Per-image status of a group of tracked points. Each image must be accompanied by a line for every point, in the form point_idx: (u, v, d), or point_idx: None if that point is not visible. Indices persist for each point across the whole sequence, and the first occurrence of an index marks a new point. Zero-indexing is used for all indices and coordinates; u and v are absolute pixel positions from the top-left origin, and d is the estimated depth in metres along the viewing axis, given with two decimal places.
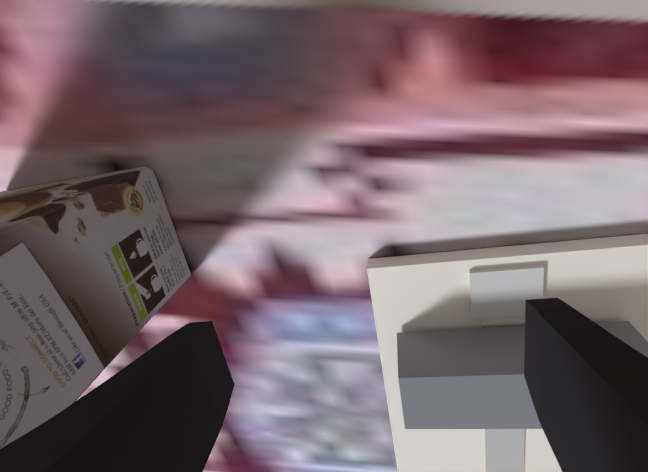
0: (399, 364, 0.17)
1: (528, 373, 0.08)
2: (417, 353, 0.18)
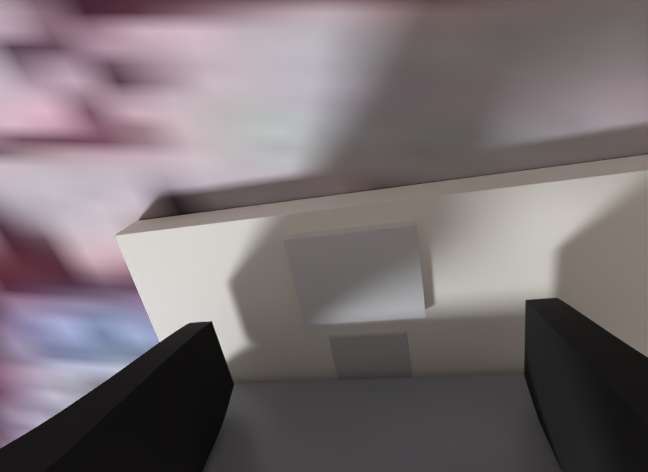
0: None
1: (528, 373, 0.08)
2: None
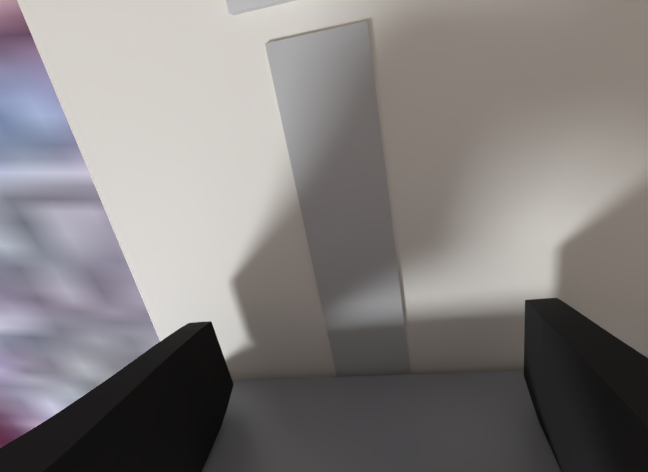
0: None
1: (527, 373, 0.08)
2: None
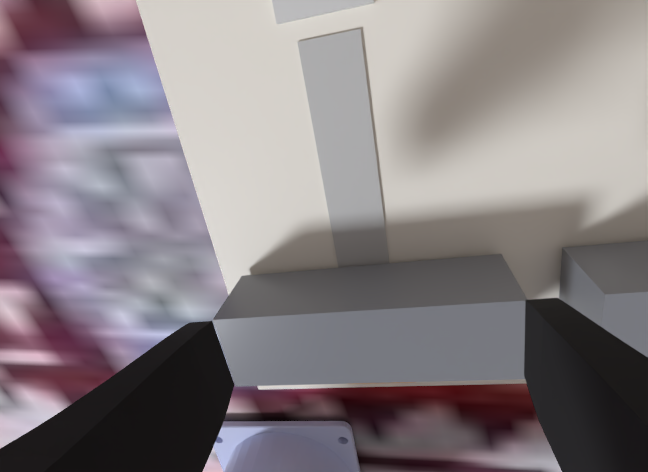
0: (223, 306, 0.14)
1: (528, 373, 0.08)
2: (250, 294, 0.15)
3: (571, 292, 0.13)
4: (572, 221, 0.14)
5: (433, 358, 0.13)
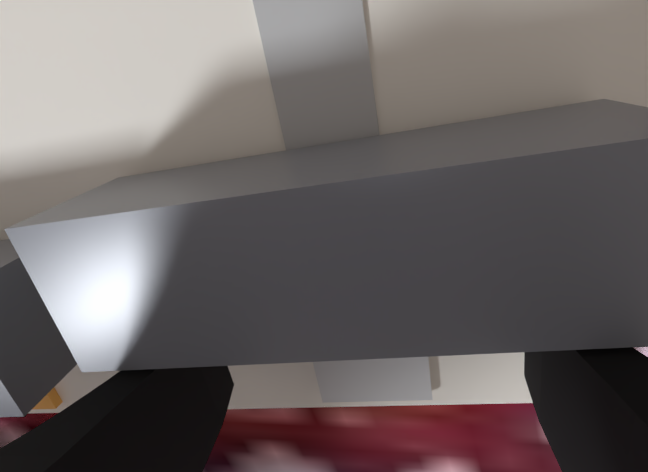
0: None
1: (528, 373, 0.08)
2: None
3: None
4: None
5: None
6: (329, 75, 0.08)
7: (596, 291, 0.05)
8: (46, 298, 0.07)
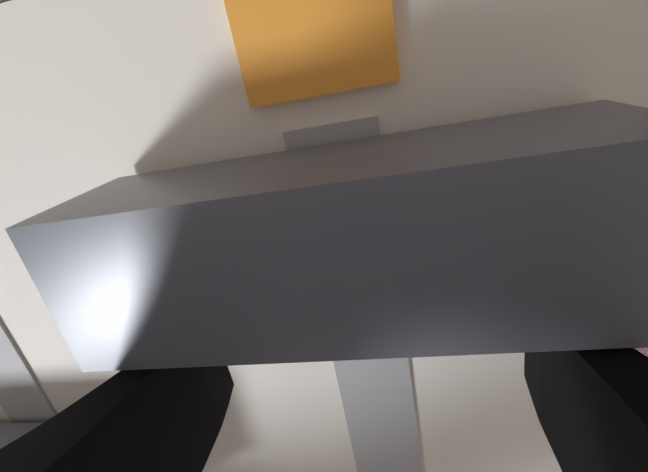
0: None
1: (528, 373, 0.08)
2: None
3: None
4: None
5: None
6: None
7: (596, 291, 0.05)
8: (46, 298, 0.07)
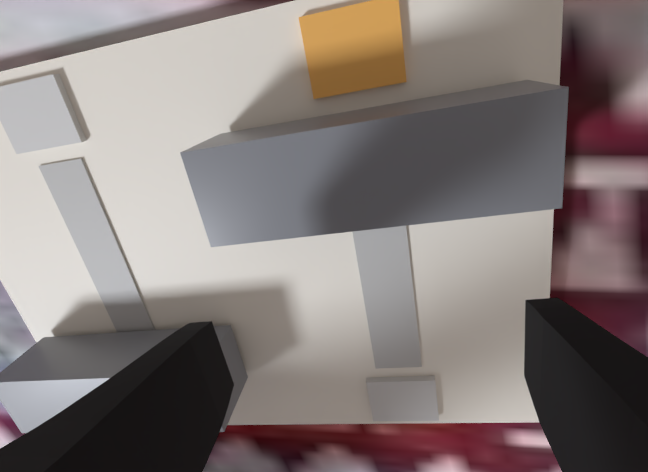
0: (5, 369, 0.17)
1: (528, 373, 0.08)
2: (33, 357, 0.18)
3: None
4: (279, 300, 0.17)
5: None
6: (388, 258, 0.15)
7: (510, 178, 0.10)
8: (197, 196, 0.12)
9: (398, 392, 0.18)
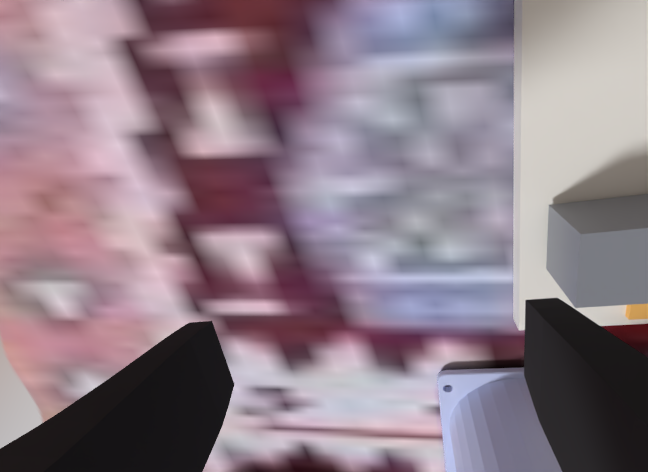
0: (573, 225, 0.14)
1: (528, 373, 0.08)
2: (590, 215, 0.15)
3: None
4: None
5: None
6: None
7: None
8: None
9: None
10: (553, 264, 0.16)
